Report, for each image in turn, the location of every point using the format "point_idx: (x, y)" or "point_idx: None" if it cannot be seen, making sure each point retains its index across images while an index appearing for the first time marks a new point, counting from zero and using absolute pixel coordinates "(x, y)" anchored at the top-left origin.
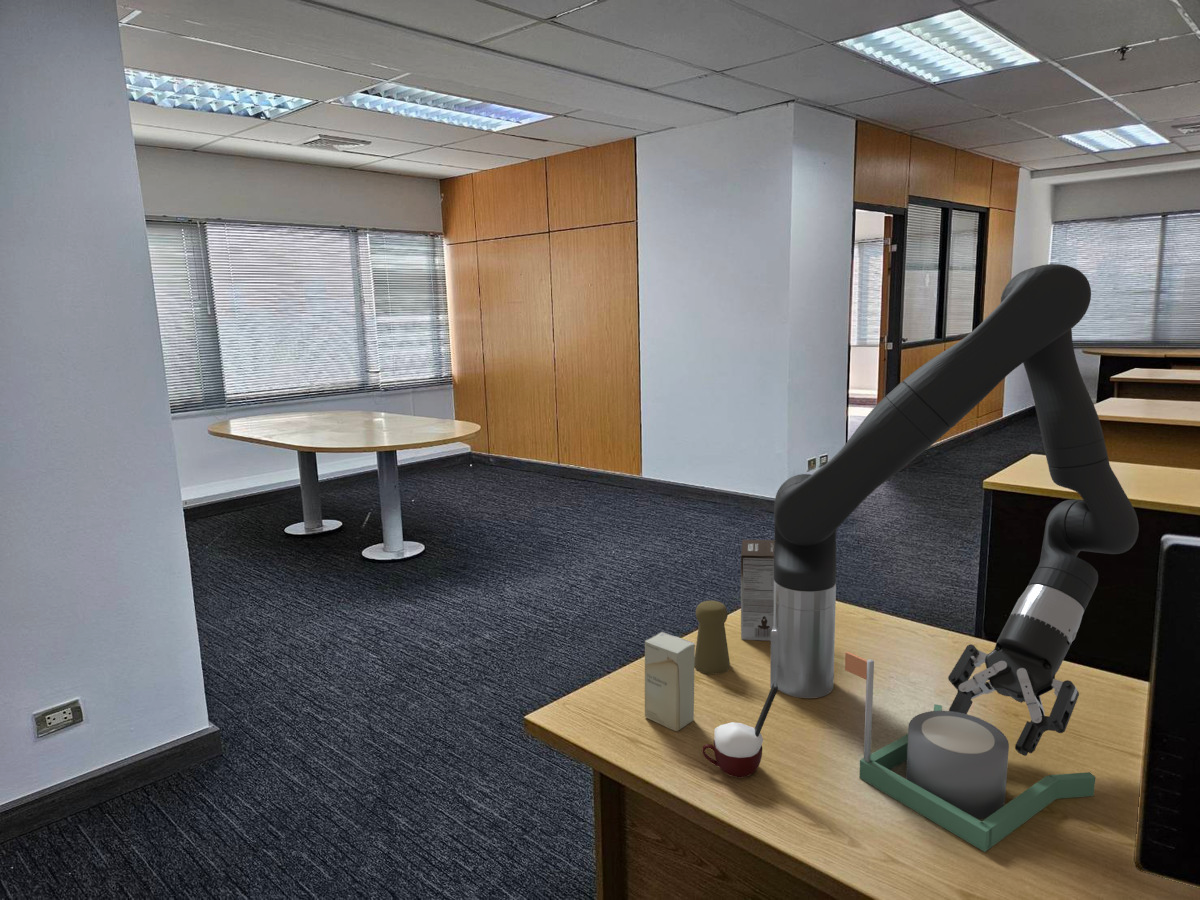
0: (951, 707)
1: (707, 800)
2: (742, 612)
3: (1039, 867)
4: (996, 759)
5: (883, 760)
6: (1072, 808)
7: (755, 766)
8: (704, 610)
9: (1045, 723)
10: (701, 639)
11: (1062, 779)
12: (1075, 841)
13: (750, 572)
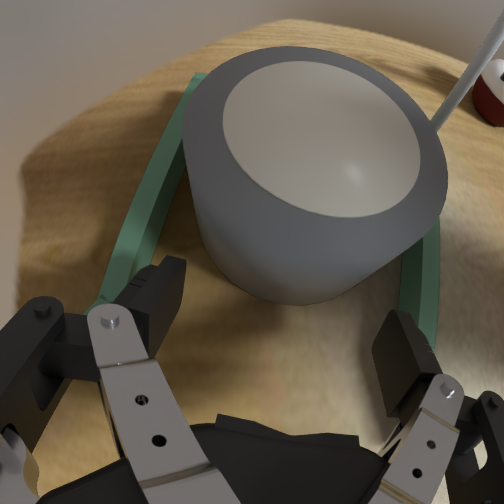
0: (424, 341)
1: (456, 64)
2: None
3: (127, 114)
4: (200, 82)
5: None
6: (86, 294)
7: (476, 91)
8: None
9: (82, 322)
10: None
11: (89, 307)
12: (80, 197)
13: None
